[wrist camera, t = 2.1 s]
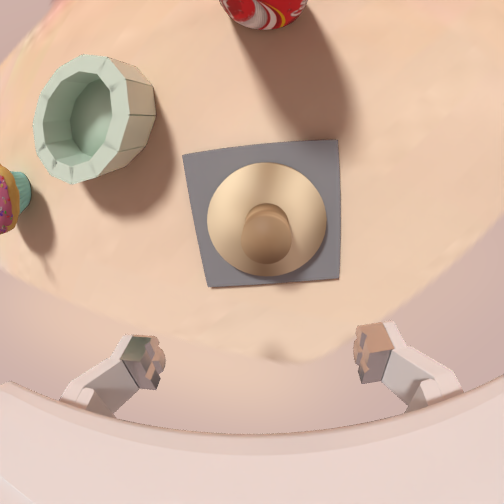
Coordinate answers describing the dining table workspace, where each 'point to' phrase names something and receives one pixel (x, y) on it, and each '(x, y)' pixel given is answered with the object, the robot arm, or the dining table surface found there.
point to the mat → (287, 153)
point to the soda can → (263, 12)
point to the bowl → (92, 118)
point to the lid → (266, 219)
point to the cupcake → (12, 197)
